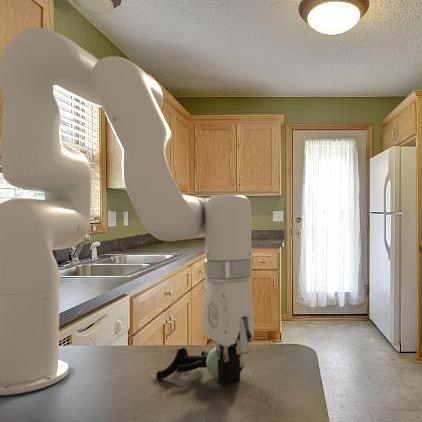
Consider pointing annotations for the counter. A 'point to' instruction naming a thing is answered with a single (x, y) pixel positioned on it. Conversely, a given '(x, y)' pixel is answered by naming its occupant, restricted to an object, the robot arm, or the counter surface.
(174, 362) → the toy
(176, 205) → the robot arm
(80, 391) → the counter surface
